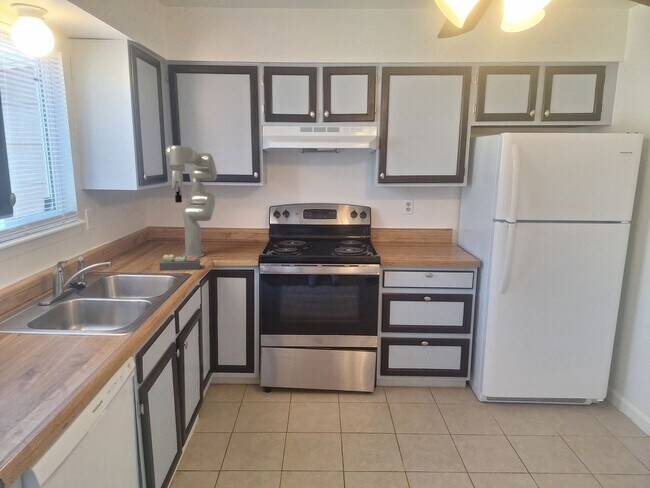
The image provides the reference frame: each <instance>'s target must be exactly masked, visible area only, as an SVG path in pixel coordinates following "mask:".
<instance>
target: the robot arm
mask: <svg viewBox="0 0 650 488" xmlns="http://www.w3.org/2000/svg"><path fill="white" fill-rule="evenodd" d="M165 156H166V157H167V158H168V160H169V171H170V172H171V190H174V192H175V193H174V194H175V196H174V197H175V198H174V200H175V203H182V202H183V201H182V200H183V197H182V196H183V195H182V190H183V188H184V177H183V176H184V175H183V174H184V173H183V172H185V170H186V166H185V164H187V165H190V166H192V168H190V170H189V180H190V184H191V190H190V195H189V198H188V205H185V206H184V207H183V208H182V217H183V223H184V224H183V225H184V246H185V247H184V248H185V249H184V250H185V251H184V252H183V254H182V257H185V258H187V257H194V256H195V257H197V258H202V257H204V256H205V254H204V253H203V252H202V251H203V250H204V248H203V247H202V228H201V225H200V223H199V222H209V221H211V219H212V217H213V214H214V209H215V205H216V198H215V194H213V193H212V192H206V190H207V189H206V186H205V185H204V184H203V183H202V182H214V181H216V180H217V177H218V172H217V168H216V163H215V161H214V157H213V156H212V154H211V153H208V152H197V151H195V150H194V149H192V148H191V146H187V145H175V144H174V145H173V144H172V145H167V146H166V148H165ZM201 181H202V182H201Z"/></svg>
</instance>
